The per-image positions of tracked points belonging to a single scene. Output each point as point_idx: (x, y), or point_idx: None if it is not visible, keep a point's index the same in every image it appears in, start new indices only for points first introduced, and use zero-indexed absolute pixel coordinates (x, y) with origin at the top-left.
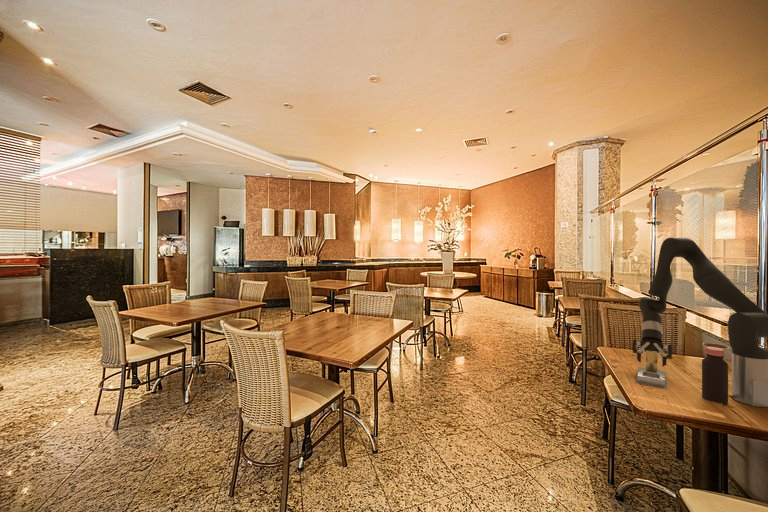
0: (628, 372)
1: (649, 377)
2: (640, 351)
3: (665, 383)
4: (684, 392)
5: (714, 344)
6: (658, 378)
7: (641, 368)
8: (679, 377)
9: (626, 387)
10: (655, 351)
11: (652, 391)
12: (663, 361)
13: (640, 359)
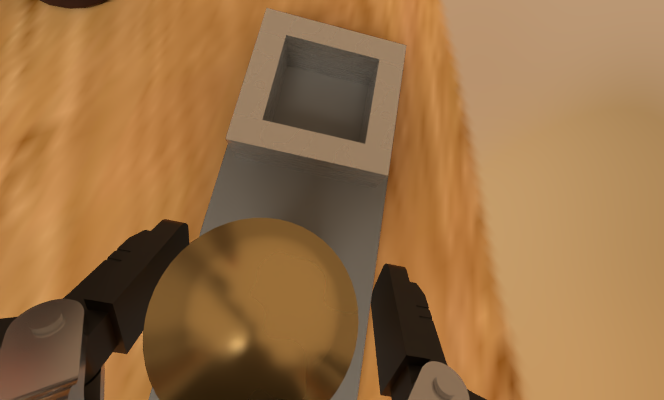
0: (420, 274)
1: (344, 33)
2: (422, 387)
3: None
4: (181, 44)
5: None
6: (293, 35)
7: None
8: None
9: (438, 16)
10: (179, 338)
11: (336, 6)
12: (154, 238)
13: (390, 267)
